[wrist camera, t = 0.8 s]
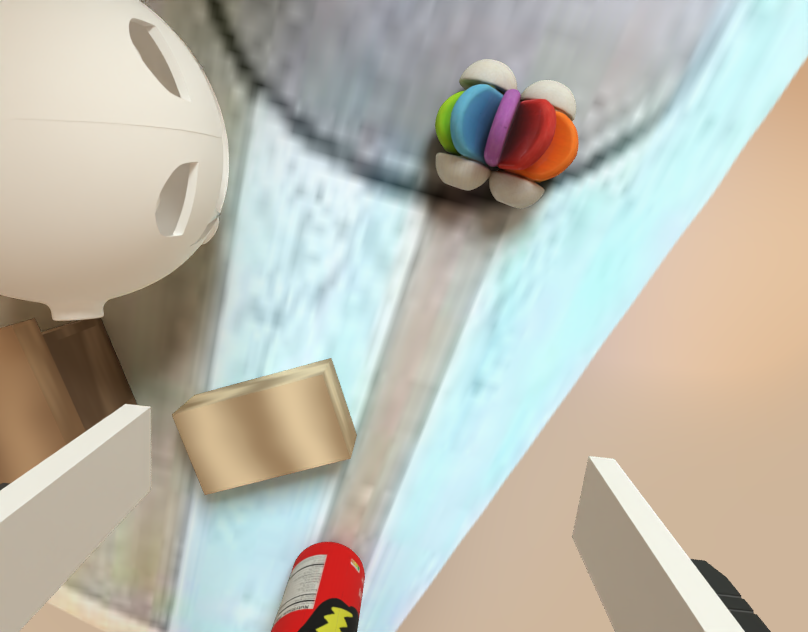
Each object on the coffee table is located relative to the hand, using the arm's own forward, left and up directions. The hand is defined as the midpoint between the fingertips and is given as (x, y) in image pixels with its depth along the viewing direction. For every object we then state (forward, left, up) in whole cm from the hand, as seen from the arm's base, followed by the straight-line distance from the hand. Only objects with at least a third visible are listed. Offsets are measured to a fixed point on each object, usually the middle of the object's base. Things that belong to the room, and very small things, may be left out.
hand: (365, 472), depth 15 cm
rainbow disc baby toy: (-10, +10, -26) cm, 30 cm away
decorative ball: (-16, -15, -26) cm, 34 cm away
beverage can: (+21, -13, -26) cm, 36 cm away
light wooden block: (+6, -13, -26) cm, 29 cm away
